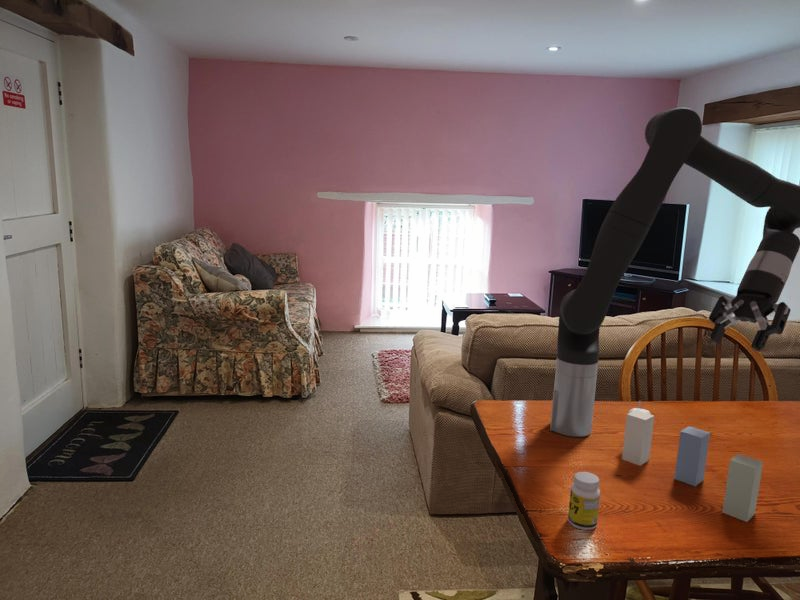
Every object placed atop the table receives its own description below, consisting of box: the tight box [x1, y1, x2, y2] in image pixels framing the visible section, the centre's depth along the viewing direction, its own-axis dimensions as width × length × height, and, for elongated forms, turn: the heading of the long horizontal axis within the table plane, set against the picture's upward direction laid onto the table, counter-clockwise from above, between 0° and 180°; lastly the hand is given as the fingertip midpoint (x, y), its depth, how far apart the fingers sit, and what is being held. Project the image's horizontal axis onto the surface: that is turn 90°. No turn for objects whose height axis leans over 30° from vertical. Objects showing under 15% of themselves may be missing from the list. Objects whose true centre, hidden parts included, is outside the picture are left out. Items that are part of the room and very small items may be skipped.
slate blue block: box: [674, 425, 711, 487], centre depth 116 cm, size 4×4×10 cm
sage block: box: [721, 453, 764, 523], centre depth 104 cm, size 4×4×10 cm
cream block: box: [621, 410, 655, 467], centre depth 124 cm, size 4×4×10 cm
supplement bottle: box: [567, 471, 601, 531], centre depth 99 cm, size 5×5×8 cm
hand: (734, 345), depth 120 cm, fingers open, 8 cm apart
